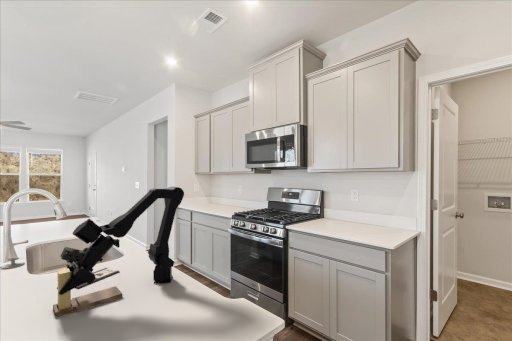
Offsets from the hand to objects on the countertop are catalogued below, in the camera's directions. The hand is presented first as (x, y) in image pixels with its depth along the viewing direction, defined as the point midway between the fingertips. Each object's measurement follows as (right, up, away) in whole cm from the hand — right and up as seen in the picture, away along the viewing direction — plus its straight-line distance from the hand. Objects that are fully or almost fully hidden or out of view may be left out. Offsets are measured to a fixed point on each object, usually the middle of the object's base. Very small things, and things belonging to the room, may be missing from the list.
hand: (58, 291), depth 86 cm
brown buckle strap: (+6, -6, +6) cm, 11 cm away
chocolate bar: (-5, -7, +26) cm, 28 cm away
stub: (+1, -7, +1) cm, 7 cm away
